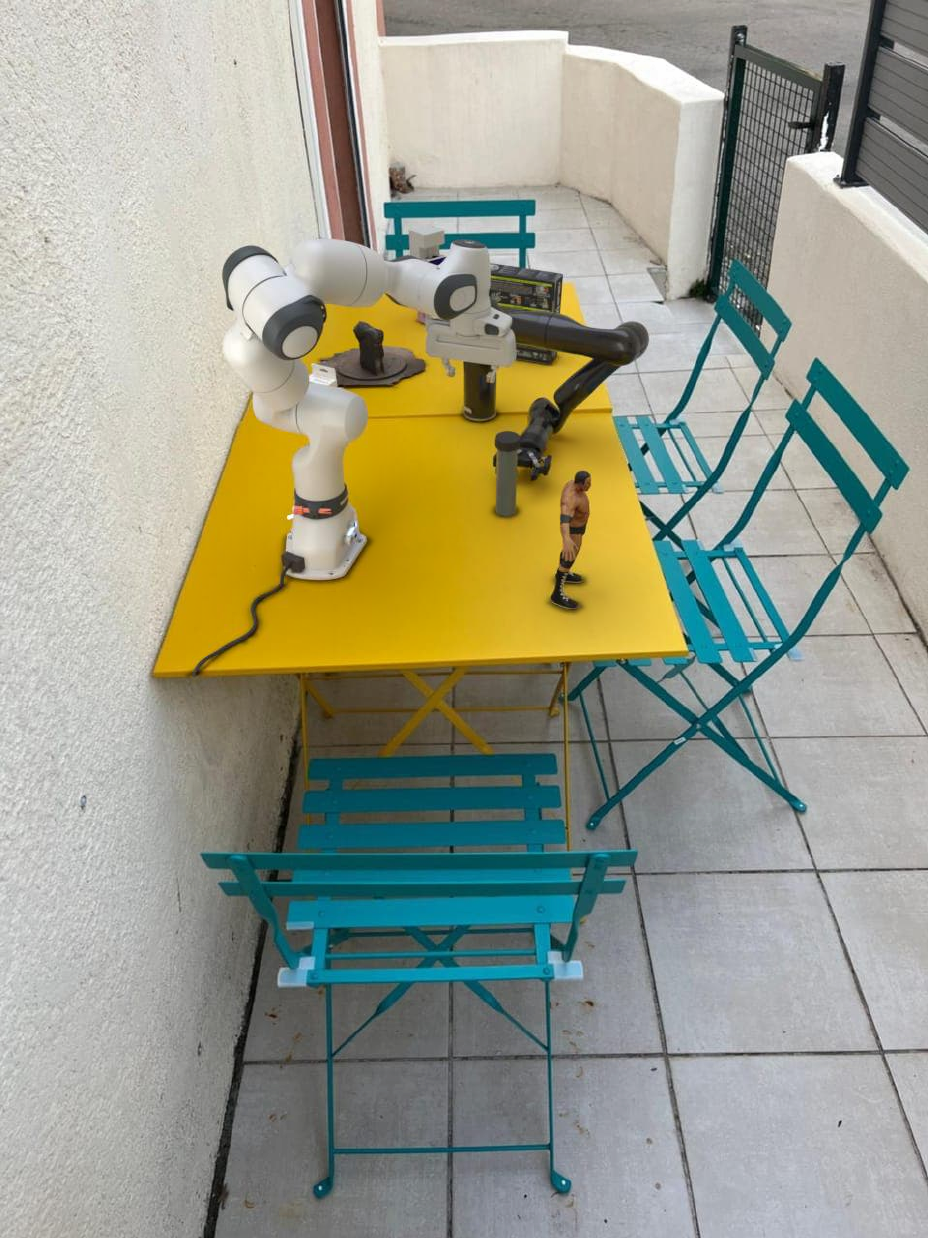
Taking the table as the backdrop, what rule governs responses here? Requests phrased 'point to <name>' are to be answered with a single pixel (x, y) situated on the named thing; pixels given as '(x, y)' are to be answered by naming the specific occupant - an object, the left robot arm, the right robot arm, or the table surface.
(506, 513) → the jar
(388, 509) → the table surface
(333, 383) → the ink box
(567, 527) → the figurine
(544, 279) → the box
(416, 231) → the toy
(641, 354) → the right robot arm
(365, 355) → the sculpture
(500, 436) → the lid
